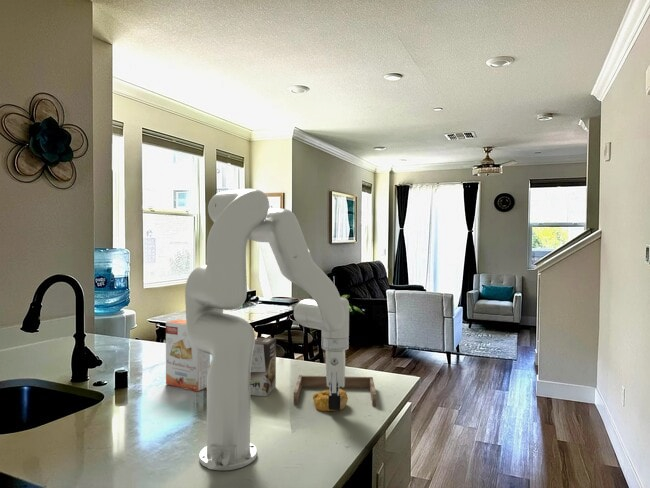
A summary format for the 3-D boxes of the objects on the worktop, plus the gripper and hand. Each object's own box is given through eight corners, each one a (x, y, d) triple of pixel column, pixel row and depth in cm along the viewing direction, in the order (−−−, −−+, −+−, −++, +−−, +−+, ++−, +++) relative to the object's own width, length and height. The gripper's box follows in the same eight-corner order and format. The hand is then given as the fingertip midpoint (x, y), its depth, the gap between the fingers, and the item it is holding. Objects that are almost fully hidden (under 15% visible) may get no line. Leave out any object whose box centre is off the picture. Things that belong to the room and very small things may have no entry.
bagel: (330, 396, 142) (331, 381, 142) (355, 408, 133) (355, 391, 133) (304, 404, 136) (304, 388, 136) (328, 416, 127) (328, 399, 127)
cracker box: (164, 385, 151) (164, 321, 150) (178, 380, 156) (178, 318, 156) (197, 392, 144) (197, 325, 144) (210, 386, 150) (210, 322, 149)
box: (376, 406, 134) (376, 394, 134) (293, 404, 135) (293, 392, 135) (372, 387, 150) (372, 377, 150) (298, 386, 151) (298, 375, 151)
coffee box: (267, 396, 141) (267, 344, 141) (247, 395, 142) (247, 343, 142) (276, 387, 150) (276, 337, 150) (257, 385, 151) (258, 336, 151)
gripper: (348, 349, 120) (348, 420, 120) (348, 336, 135) (348, 399, 135) (319, 349, 120) (319, 419, 121) (322, 336, 135) (322, 398, 135)
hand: (334, 408), depth 128 cm, fingers closed
